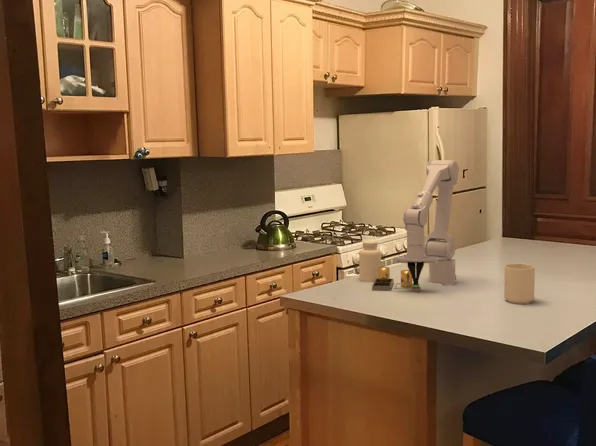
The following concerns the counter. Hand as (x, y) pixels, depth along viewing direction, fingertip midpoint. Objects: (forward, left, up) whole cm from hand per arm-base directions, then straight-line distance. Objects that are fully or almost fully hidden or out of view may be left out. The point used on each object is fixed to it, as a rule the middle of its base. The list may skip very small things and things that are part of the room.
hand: (415, 284), depth 214 cm
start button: (0, 0, -4) cm, 4 cm away
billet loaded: (+11, -8, -2) cm, 14 cm away
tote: (+3, -6, -3) cm, 8 cm away
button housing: (0, 0, -3) cm, 3 cm away
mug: (-33, +5, -3) cm, 33 cm away
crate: (+11, -5, -3) cm, 13 cm away
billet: (+3, -6, -3) cm, 7 cm away
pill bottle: (+17, -16, -3) cm, 24 cm away
